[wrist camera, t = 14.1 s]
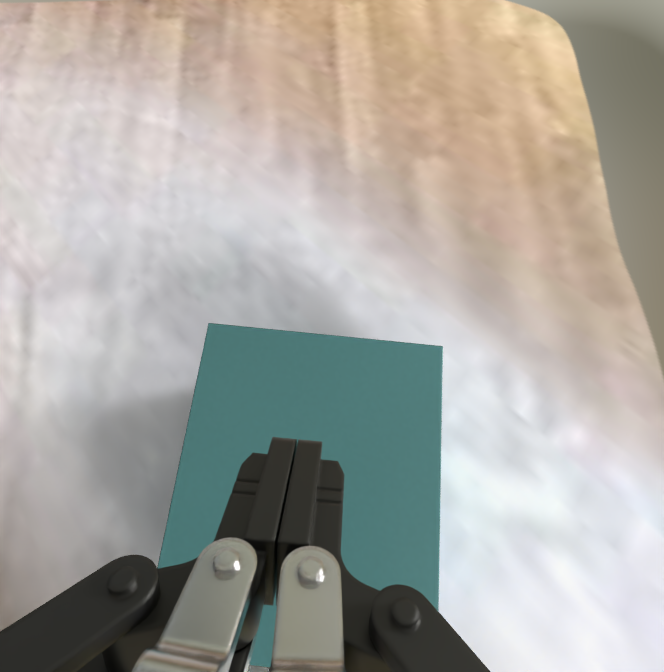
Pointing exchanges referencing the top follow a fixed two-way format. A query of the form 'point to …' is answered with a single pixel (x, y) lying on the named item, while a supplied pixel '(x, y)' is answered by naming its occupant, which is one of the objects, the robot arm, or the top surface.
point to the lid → (337, 445)
